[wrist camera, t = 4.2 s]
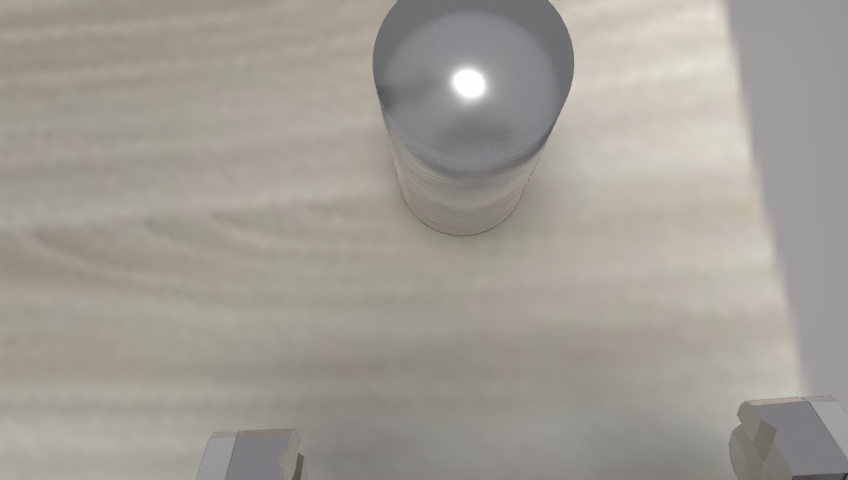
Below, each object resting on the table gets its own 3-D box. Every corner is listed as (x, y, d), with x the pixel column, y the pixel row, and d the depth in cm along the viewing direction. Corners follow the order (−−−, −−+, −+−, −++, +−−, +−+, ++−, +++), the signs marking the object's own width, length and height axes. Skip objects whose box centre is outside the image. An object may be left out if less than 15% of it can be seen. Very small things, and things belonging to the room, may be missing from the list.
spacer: (395, 232, 26) (365, 151, 16) (403, 111, 27) (380, -35, 17) (522, 238, 26) (572, 161, 16) (526, 117, 26) (575, -28, 17)
